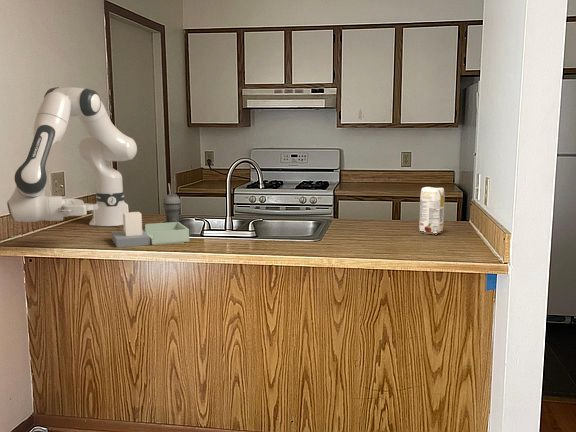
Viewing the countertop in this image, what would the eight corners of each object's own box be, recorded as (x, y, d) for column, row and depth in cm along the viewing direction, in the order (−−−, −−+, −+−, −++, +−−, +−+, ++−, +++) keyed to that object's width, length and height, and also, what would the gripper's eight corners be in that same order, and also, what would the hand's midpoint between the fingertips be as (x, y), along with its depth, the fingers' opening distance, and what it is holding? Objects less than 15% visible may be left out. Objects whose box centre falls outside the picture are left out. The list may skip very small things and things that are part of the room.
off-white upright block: (123, 233, 226) (122, 212, 225) (139, 232, 228) (138, 211, 227) (125, 236, 220) (125, 214, 219) (142, 234, 223) (141, 214, 221)
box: (143, 236, 235) (143, 224, 234) (178, 234, 240) (178, 221, 240) (152, 245, 219) (151, 231, 218) (189, 242, 224) (188, 229, 223)
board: (111, 239, 229) (111, 231, 229) (143, 237, 234) (142, 229, 233) (117, 247, 215) (116, 239, 214) (150, 244, 219) (149, 236, 219)
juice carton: (437, 236, 236) (439, 189, 233) (417, 233, 241) (418, 187, 238) (444, 233, 242) (446, 187, 239) (424, 231, 247) (426, 186, 244)
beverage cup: (177, 232, 244) (176, 184, 241) (161, 231, 246) (159, 183, 242) (184, 229, 251) (182, 182, 248) (168, 228, 253) (166, 182, 249)
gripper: (58, 202, 202) (100, 201, 207) (56, 196, 221) (94, 195, 226) (59, 221, 203) (100, 218, 208) (57, 213, 222) (95, 211, 227)
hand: (97, 206), depth 217 cm, fingers closed
